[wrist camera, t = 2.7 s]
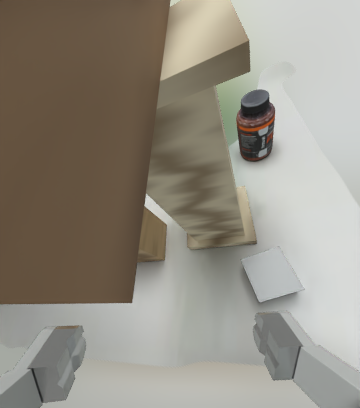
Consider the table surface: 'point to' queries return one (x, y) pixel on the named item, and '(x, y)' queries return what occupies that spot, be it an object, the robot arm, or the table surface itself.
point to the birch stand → (199, 126)
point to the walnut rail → (75, 145)
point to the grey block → (271, 274)
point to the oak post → (152, 238)
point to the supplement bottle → (255, 125)
